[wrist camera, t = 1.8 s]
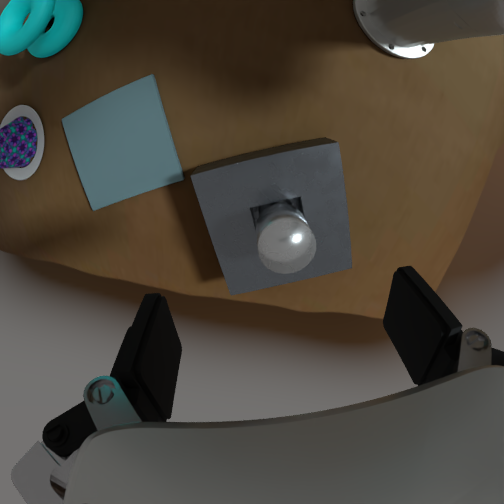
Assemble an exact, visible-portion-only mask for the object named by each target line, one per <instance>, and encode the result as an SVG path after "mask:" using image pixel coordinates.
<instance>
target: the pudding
mask: <svg viewBox="0 0 504 504" xmlns="http://www.w3.org/2000/svg"><path fill="white" fill-rule="evenodd" d="M20 116H25V117H28V118H29V119H31V120H29V119H26V120H24V119H23V117H20ZM17 117H19V118H17ZM16 118H17V119H16ZM14 119H15V120H14ZM13 120H14V121H13ZM31 121H32V122H33V123H34V125H35V128H36V130H35V129H33V127H32V122H31ZM36 131H37V133H36ZM37 137H38V145H37V151H36V145H35V142H36V140H37ZM43 149H44V131H43V126H42V123H41V120H40V118H39V116H38V114H37V113H36V112H35V110H34V109H32V108H31V107H29V106H27V105H19V106H16V107H14V108H13V109H11V110H10V111H9V112H8V113H7V114H6V116H5V117H4V119H3V121H2V123H1V125H0V168H3V169H4V171H5V172H6V173H7V174H8V175H9V176H10V177H12V178H13V179H16V180H24V179H27V178H29V177H30V176H31V175H32V174H33V173H34V172H35V171H36V170H37V168H38V166H39V164H40V161H41V159H42V155H43ZM35 153H36V154H35ZM34 155H35V157H34ZM32 157H34V159H33V161H32V162H31V163H30V159H31V158H32ZM29 163H30V164H29ZM28 164H29V165H28ZM27 165H28V166H27ZM25 166H27V167H25ZM17 167H25V168H17Z"/></svg>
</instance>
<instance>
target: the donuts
mask: <svg viewBox="0 0 504 504" xmlns="http://www.w3.org/2000/svg"><path fill="white" fill-rule="evenodd" d="M29 13H30V15H29V17H28V19H27V21H26V22H25V24H24V25H23V22H24V20H25V18H26V16H27V15H28V14H29ZM53 17H55V19H54V23H53V25H52V27H51V28H50V29H49V30H48V31H47V32H46V33H45V29H46V26H47V25H48V23H49V21H50V20H51V19H52V18H53ZM82 18H83V6H82V4H81V2H80V0H11V1H10V2H9V4H8V5H7V6H6V7H5V9H4V10H3V12H2V14H1V16H0V53H1V54H3V55H7V56H11V55H15V54H18V53H20V52H22V51H24V50H25V49H26V48H27V49H28V51H29V52H30V54H31V55H33V56H35V57H38V58H45V57H49V56H52V55H54V54H56V53H58V52H59V51H61V50H62V49H63V48H64V47H65V46H67V45H68V43H69V42H70V41H71V40H72V39H73V37H74V36H75V34H76V33H77V31H78V29H79V27H80V25H81V22H82Z"/></svg>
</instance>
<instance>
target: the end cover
mask: <svg viewBox="0 0 504 504" xmlns="http://www.w3.org/2000/svg"><path fill="white" fill-rule="evenodd" d="M256 237H257V246H258V254H259V258H260V260H261V262H262V263H263V264H264V265H265V266H266V267H267V268H268V269H270V270H271V271H274V272H276V273H281V274H289V273H294V272H297V271H299V270H301V269H303V268H304V267H306V266H307V265H308V264H309V263H310V262H311V260H312V259H313V257H314V255H315V252H316V240H315V237H314V235H313V233H312V231H311V229H310V227H309V225H308V223H307V221H306V219H305V218H304V216H303V214H302V213H301V211H300V210H299V209H297V208H296V207H294V206H293V205H292V204H291V202H290V201H289V200H288V199H286V200H282V201H277V202H273V203H268V204H264V205H261V206H260V209H259V217H258V219H257V222H256Z"/></svg>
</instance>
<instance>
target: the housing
mask: <svg viewBox="0 0 504 504" xmlns="http://www.w3.org/2000/svg"><path fill="white" fill-rule="evenodd" d="M191 179H192V182H193V185H194V189H195V192H196V195H197V198H198V201H199V204H200V207H201V210H202V213H203V216H204V219H205V222H206V225H207V228H208V231H209V234H210V237H211V240H212V243H213V246H214V249H215V252H216V255H217V258H218V260H219V263H220V266H221V269H222V272H223V275H224V277H225V280H226V283H227V286H228V289H229V291H230V294H231V295H235V294H240V293H245V292H250V291H254V290H259V289H264V288H268V287H273V286H277V285H282V284H286V283H291V282H295V281H300V280H304V279H308V278H313V277H317V276H321V275H325V274H329V273H333V272H338V271H342V270H346V269H350V268H352V258H351V243H350V231H349V220H348V210H347V201H346V192H345V184H344V176H343V169H342V162H341V156H340V150H339V144H338V142H336V141H334V140H331V139H328V138H326V137H324V138H319V139H313V140H307V141H302V142H297V143H292V144H287V145H282V146H277V147H272V148H268V149H263V150H259V151H255V152H250V153H246V154H242V155H238V156H234V157H230V158H226V159H222V160H219V161H215V162H211V163H208V164H204V165H201V166H197V168H196V169H195V170H194V172H193V173H192V174H191ZM286 199H288V200H289V201H290V202H291V204H292V205H293V206H294V207H296V208H297V209H299V210H300V211H301V213H302V214H303V216H304V218H305V219H306V221H307V223H308V225H309V227H310V229H311V231H312V233H313V235H314V237H315V240H316V252H315V255H314V257H313V259H312V260H311V262H310V263H309V264H308V265H307V266H306V267H304V268H303V269H301V270H299V271H297V272H294V273H289V274H281V273H276V272H274V271H271V270H270V269H268V268H267V267H266V266H265V265H264V264H263V263H262V262H261V260H260V258H259V254H258V246H257V237H256V222H257V219H258V217H259V209H260V206H261V205H264V204H268V203H273V202H277V201H282V200H286Z"/></svg>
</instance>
